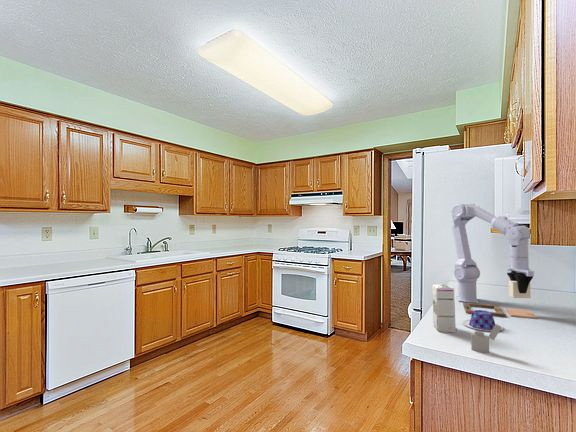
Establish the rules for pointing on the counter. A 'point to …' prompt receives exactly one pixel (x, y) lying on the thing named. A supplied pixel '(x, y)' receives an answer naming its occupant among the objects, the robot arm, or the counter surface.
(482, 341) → the lighter
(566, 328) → the counter surface
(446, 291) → the white segmented tower
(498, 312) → the wooden picture frame
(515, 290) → the cream upright block
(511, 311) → the peach rectangular tile
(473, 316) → the pudding
